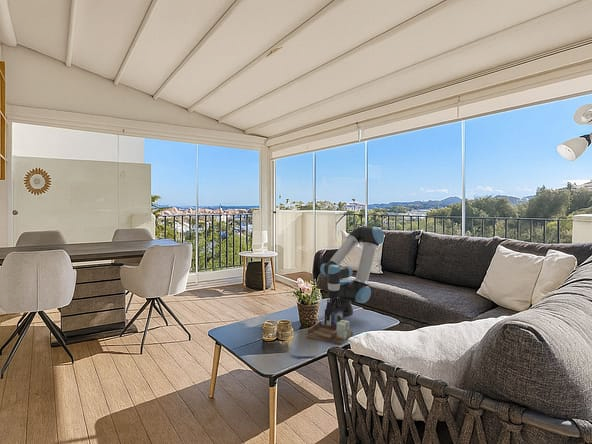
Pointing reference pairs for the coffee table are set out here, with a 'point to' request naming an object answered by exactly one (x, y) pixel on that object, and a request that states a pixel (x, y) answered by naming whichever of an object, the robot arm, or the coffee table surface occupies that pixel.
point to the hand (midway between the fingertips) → (333, 322)
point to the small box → (335, 316)
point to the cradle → (330, 332)
